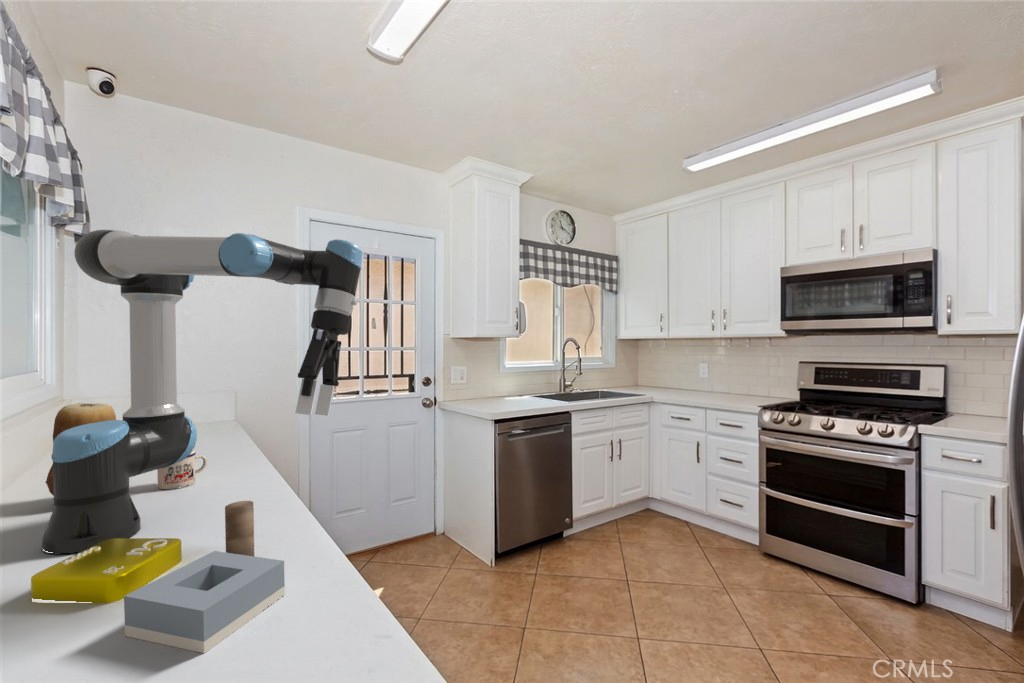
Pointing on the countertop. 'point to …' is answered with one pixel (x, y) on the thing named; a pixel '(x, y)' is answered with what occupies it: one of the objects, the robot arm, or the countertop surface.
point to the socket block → (203, 600)
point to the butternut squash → (78, 422)
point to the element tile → (107, 570)
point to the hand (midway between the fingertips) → (313, 414)
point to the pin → (240, 528)
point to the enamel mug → (180, 473)
